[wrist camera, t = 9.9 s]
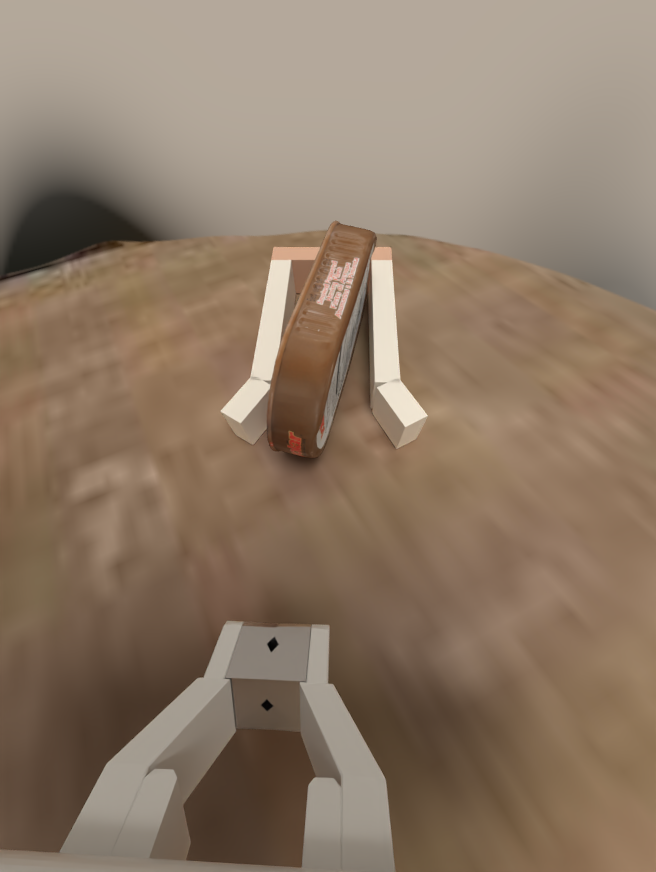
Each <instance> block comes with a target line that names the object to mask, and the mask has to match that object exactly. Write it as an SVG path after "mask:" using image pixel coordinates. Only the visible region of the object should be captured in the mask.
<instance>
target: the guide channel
mask: <svg viewBox="0 0 656 872" xmlns="http://www.w3.org/2000/svg"><path fill="white" fill-rule="evenodd" d="M319 249H320V247H274V249H273V254H272V260H271V266H270V271H269V277H268V282H267V288H266V294H265V299H264V305H263V311H262V316H261V322H260V327H259V333H258V339H257V344H256V350H255V356H254V361H253V367H252V372H251V377H250V379H249V380H248V381H247V382H246V383H245V384H244V385H243V387H242V388H241V389H240V390H239V391H238V392H237V393H236V394H235V396H234V397H233V398H232V399H231V400H230V401H229V402H228V403H227V405H226V406H225V407H224V408H223V409H222V410H221V413H222V415H223V416H224V418H225V419H226V421H227V422H228V424H229V426H230V427H231V429H232V430H233V432H234V433H235V435H237V436H238V437H240V438H242V439H243V440H245V441H247V442H248V443H250V444H252V445H254V444H255V442H256V441H257V440H258V439H259V437H260V436H261V435H262V434H263V432H264V431H265V430H266V429H267V406H268V397H269V390H270V385H271V379H272V375H273V370H274V365H275V360H276V357H277V354H278V350H279V346H280V343H281V339H282V337H283V334H284V331H285V329H286V326H287V324H288V321H289V319H290V317H291V315H292V312H293V310H294V305H295V297H296V293H301V292H302V289H303V287H304V284H305V282H306V280H307V277H308V275H309V273H310V270H311V268H312V266H313V263H314V261H315V258H316V256H317V254H318V252H319ZM367 285H368V290H367V294H368V308H369V360H370V408H373V411H372V414H373V415H374V417H375V418H376V420H377V421H378V423H379V424H380V426H381V427H382V429H383V430H384V431H385V433H386V434H387V436H388V437H389V439H390V440H391V442H392V443H393V445H394V446H395V448H396V449H398V448H400V447H402V446H404V445H406V444H407V443H409V442H411V441H413V440H415V439H417V437H418V435H419V433H420V430H421V428H422V426H423V424H424V422H425V420H426V418H427V416H428V415H427V414H426V413H425V412H424V410H423V409H422V408H421V406H420V405H419V404H418V402H417V401H416V400H415V399H414V397H413V396H412V395H411V393H410V392H409V391H408V389H407V388H406V387H405V385H404V384H403V383H402V382H401V380H400V370H399V356H398V341H397V327H396V312H395V298H394V283H393V269H392V254H391V247H375V250H374V252H373V254H372V257H371V262H370V268H369V274H368V281H367Z"/></svg>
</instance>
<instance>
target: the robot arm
mask: <svg viewBox="0 0 656 872" xmlns="http://www.w3.org/2000/svg"><path fill="white" fill-rule="evenodd" d="M329 633H330V627H329V625H315V624H290V623H278V624H274V623H260V622H243V621H227V622H226V623H225V625H224V626H223V629H222V631H221V634H220V636H219V639H218V641H217V644H216V646H215V649H214V652H213V654H212V657H211V659H210V662H209V664H208V667H207V670H206V672H205V675H204V677H203V678H197V679H196V680H195V681H194V682H193V683H192V684H191V685H190V686H188V687H187V688H186V689H185V690H184V691H183V692H182V693H181V694H180V695H179V696H178V697H177V698H176V699H175V700H174V701H173V702H171V703H170V704H169V705H168V706H167V707H166V708H165V709H164V710H163V711H162V712H161V713H160V714H159V715H158V716H157V717H156V718H154V719H153V720H152V721H151V722H150V723H149V724H148V725H147V726H146V727H145V728H144V729H143V730H142V731H141V732H140V733H139V734H137V735H136V736H135V737H134V738H133V739H132V740H131V741H130V742H129V743H128V744H127V745H126V746H125V747H124V748H123V749H122V750H120V751H119V752H118V753H117V754H116V755H115V756H114V757H113V758H112V759H111V760H110V761H109V762H108V763H107V764H106V766H105V768H104V770H103V771H102V773H101V775H100V777H99V779H98V781H97V783H96V784H95V786H94V788H93V790H92V792H91V794H90V796H89V797H88V799H87V801H86V803H85V805H84V807H83V809H82V811H81V812H80V814H79V816H78V818H77V820H76V822H75V824H74V825H73V827H72V829H71V831H70V833H69V835H68V837H67V839H66V840H65V842H64V844H63V846H62V848H61V850H60V852H59V853H57V852H41V851H25V850H8V849H0V872H395V864H394V854H393V844H392V835H391V825H390V815H389V805H388V796H387V786H386V779H385V777H384V775H383V773H382V772H381V770H380V768H379V766H378V764H377V762H376V761H375V759H374V757H373V755H372V753H371V752H370V750H369V748H368V746H367V744H366V743H365V741H364V739H363V737H362V735H361V733H360V732H359V730H358V728H357V726H356V724H355V723H354V721H353V719H352V717H351V715H350V713H349V712H348V710H347V708H346V706H345V704H344V703H343V701H342V699H341V697H340V695H339V694H338V692H337V690H336V688H335V686H334V684H328V676H329ZM236 729H270V730H282V731H294V732H301V736H302V739H303V742H304V744H305V747H306V750H307V753H308V756H309V758H310V761H311V764H312V767H313V770H314V772H315V775H316V777H314V779H313V780H312V781H311V782H310V784H309V785H308V796H307V808H306V821H305V833H304V845H303V858H302V868H301V867H285V866H269V865H252V864H236V863H220V862H204V861H188V860H186V859H187V855H188V851H189V848H190V844H191V840H190V836H189V831H188V826H187V822H186V817H185V812H184V807H183V804H184V803H185V801H186V800H187V799H188V797H189V796H190V794H191V793H192V792H193V790H194V789H195V788H196V786H197V785H198V783H199V782H200V781H201V779H202V778H203V776H204V775H205V774H206V772H207V771H208V770H209V768H210V767H211V765H212V764H213V763H214V761H215V760H216V758H217V757H218V756H219V754H220V753H221V751H222V750H223V749H224V747H225V746H226V745H227V743H228V742H229V740H230V739H231V738H232V736H233V735H234V733H235V732H236Z"/></svg>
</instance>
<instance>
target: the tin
mask: <svg viewBox="0 0 656 872" xmlns="http://www.w3.org/2000/svg"><path fill="white" fill-rule="evenodd" d="M376 240H377V237H376V235H375V233H374V232H372V231H370V230H366V229H361V228H357V227H353V226H347V225H343V224H340V223H339V222H338V221H334V222H333V223H332V224H331V225H330V227H329V229H328V230H327V233H326V235H325V237H324V240H323V242H322V244H321V247H320V249H319V252H318V254H317V256H316V258H315V261H314V263H313V266H312V268H311V270H310V273H309V275H308V277H307V280H306V282H305V284H304V287H303V289H302V292H301V294H300V296H299V298H298V300H297V303H296V306H295V308H294V310H293V312H292V315H291V317H290V319H289V321H288V324H287V326H286V329H285V331H284V334H283V337H282V339H281V343H280V346H279V350H278V354H277V357H276V360H275V365H274V370H273V375H272V379H271V385H270V390H269V397H268V406H267V438H268V442H269V446H270V447H271V449H272V450H273V451H284V452H288V453H291V454H295V455H299V456H303V457H308V458H316V457H318V456H319V455H320V454H321V453H322V451H323V449H324V447H325V444H326V442H327V439H328V436H329V433H330V429H331V426H332V423H333V420H334V416H335V413H336V410H337V407H338V403H339V400H340V397H341V394H342V390H343V387H344V384H345V380H346V377H347V374H348V370H349V366H350V363H351V359H352V356H353V352H354V348H355V344H356V340H357V337H358V333H359V329H360V324H361V320H362V316H363V312H364V307H365V302H366V298H367V290H368V285H367V281H368V274H369V268H370V262H371V257H372V254H373V252H374V250H375V247H376Z"/></svg>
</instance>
